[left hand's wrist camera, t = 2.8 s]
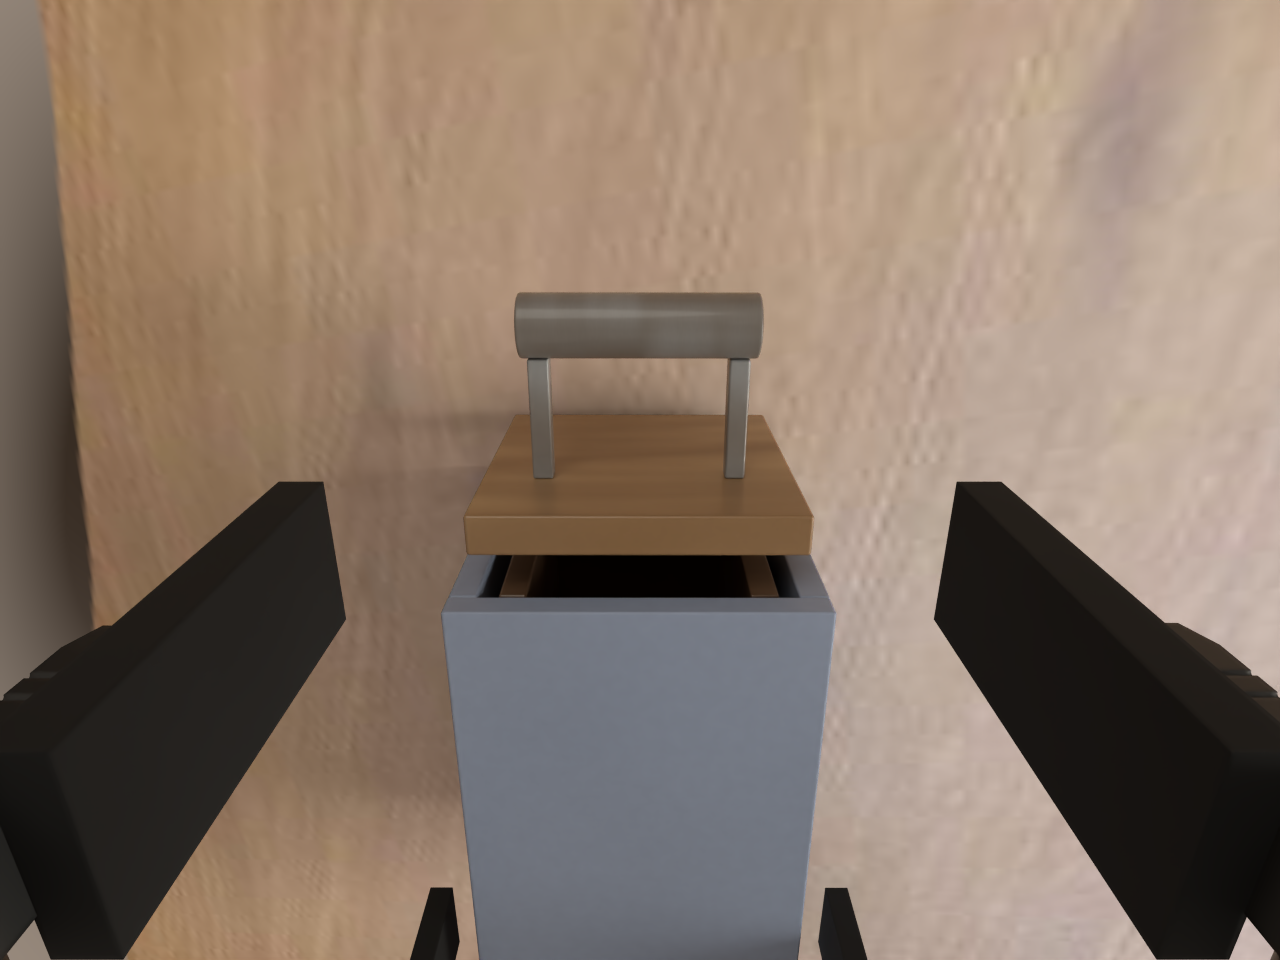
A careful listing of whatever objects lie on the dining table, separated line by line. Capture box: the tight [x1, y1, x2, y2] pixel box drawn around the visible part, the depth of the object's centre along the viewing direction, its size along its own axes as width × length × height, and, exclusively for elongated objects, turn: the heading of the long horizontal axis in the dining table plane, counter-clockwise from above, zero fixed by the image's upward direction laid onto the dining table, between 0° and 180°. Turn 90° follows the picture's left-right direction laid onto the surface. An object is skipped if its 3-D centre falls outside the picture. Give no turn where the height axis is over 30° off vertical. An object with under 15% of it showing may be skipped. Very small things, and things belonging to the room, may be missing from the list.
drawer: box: [463, 293, 814, 598], centre depth 27 cm, size 22×9×9 cm, turn 0°
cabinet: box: [441, 555, 836, 960], centre depth 29 cm, size 18×11×11 cm, turn 0°
